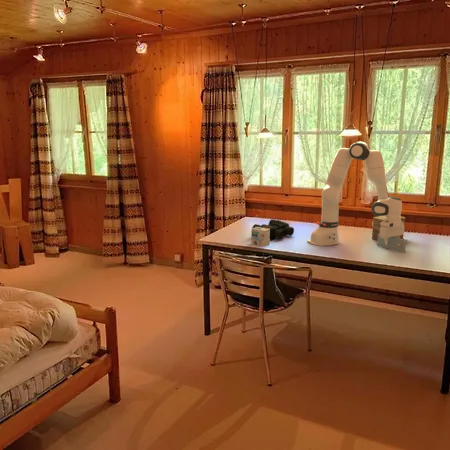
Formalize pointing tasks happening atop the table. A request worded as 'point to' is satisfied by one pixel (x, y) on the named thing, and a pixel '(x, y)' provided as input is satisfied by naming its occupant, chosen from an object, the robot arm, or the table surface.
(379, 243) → the door
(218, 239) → the table surface
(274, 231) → the binoculars
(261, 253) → the table surface
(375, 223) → the brown wooden crate
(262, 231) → the light bulb box
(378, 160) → the robot arm
